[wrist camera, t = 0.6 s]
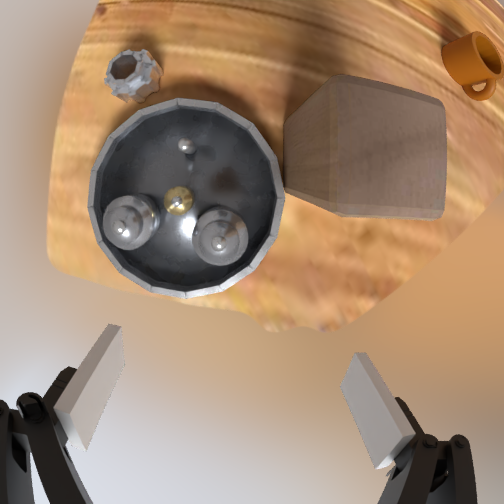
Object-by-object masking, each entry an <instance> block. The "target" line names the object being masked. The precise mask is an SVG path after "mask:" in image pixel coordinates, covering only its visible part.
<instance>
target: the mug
mask: <svg viewBox="0 0 504 504" xmlns="http://www.w3.org/2000/svg"><path fill="white" fill-rule="evenodd" d="M442 59H443V63H444V65H445V67H446V69H447V71H448V73H449V74H450V76H451V77H452V78H453V79H454V80H455V81H456V82H457V83H458V84H460V85H462V86H463V89H464V91H465V93H466V94H467V95H468V96H469V97H470V98H472V99H474V100H477V101H483V100H487V99H488V98H490V97H491V96H492V95H493V93H494V92H495V89H496V80H499V79H502V78H503V76H504V65H503V61H502V59H501V56H500V54H499V52H498V50H497V49H496V47H495V45H494V44H493V43H492V42H491V40H490V39H489V38H488V37H487V36H486V35H484V34H483V33H481V32H478V31H475V32H473V33H471V34H468V35H466V36H464V37H462V38H459V39H457V40H455V41H453V42H451V43H449V44H447V45H445V46H443V48H442ZM482 83H486V86H485V88H484V89H483V90H481V91H475V90H474V89H473V87H472V86H473V85H478V84H482Z"/></svg>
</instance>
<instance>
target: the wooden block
mask: <svg viewBox="0 0 504 504" xmlns="http://www.w3.org/2000/svg"><path fill="white" fill-rule="evenodd" d="M446 176H447V134H446V115H445V108H444V105H443V103H442V102H441V101H440V100H439V99H437V98H434V97H431V96H428V95H425V94H422V93H419V92H415V91H412V90H409V89H405V88H402V87H398V86H395V85H391V84H387V83H383V82H379V81H374V80H370V79H365V78H361V77H355V76H350V75H345V74H340V75H335V76H332V77H331V78H330V79H329V80H328V81H327V82H325V83H324V84H323V85H322V86H321V87H320V88H319V89H318V90H317V91H316V92H315V93H314V94H312V95H311V96H310V97H309V98H308V99H307V100H306V101H305V102H304V103H303V104H302V105H301V106H300V107H299V108H298V109H297V110H296V111H295V112H294V113H293V114H292V115H291V116H290V117H289V118H288V119H286V121H285V123H284V167H283V187H284V190H285V192H286V193H288V194H290V195H293V196H295V197H298V198H300V199H302V200H305V201H307V202H309V203H312V204H314V205H316V206H318V207H321V208H323V209H325V210H327V211H330V212H332V213H334V214H336V215H338V216H341V217H358V218H385V219H407V220H425V221H433V220H435V219H438V218H441V217H442V215H443V212H444V208H445V195H446Z"/></svg>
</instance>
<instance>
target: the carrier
mask: <svg viewBox="0 0 504 504" xmlns="http://www.w3.org/2000/svg"><path fill="white" fill-rule="evenodd" d="M284 201H285V194H284V189H283V184H282V179H281V174H280V169H279V165H278V160H277V157H276V155H275V154H274V152H273V151H272V149H271V148H270V146H269V145H268V144H267V142H266V141H265V139H264V138H263V137H262V135H261V134H260V132H259V131H258V129H257V128H256V127H255V125H254V124H253V123H252V122H250V121H248V120H247V119H245V118H243V117H242V116H240V115H238V114H237V113H235V112H233V111H232V110H230V109H228V108H227V107H225V106H223V105H221V104H220V103H218V102H211V101H203V100H194V99H184V98H175V99H172V100H168V101H165V102H162V103H159V104H155V105H152V106H149V107H146V108H143V109H140V110H138V111H137V112H136V113H135V114H133V115H132V116H131V117H130V118H129V119H127V120H126V121H125V122H124V123H123V124H122V125H120V126H119V127H118V128H117V129H116V130H115V131H114V132H112V133H111V134H110V135H109V137H108V138H107V140H106V142H105V144H104V146H103V148H102V150H101V152H100V153H99V155H98V157H97V159H96V161H95V163H94V165H93V167H92V170H91V176H90V185H89V195H88V212H89V215H90V219H91V223H92V226H93V230H94V233H95V237H96V240H97V243H98V245H99V246H100V248H101V249H102V250H103V252H104V253H105V254H106V256H107V257H108V259H109V260H110V261H111V262H112V264H113V265H114V266H115V268H116V269H117V270H118V272H119V273H120V274H122V275H124V276H125V277H127V278H128V279H130V280H131V281H133V282H135V283H136V284H138V285H140V286H141V287H143V288H144V289H146V290H148V291H149V292H152V293H158V294H163V295H168V296H174V297H179V298H185V299H187V298H192V297H197V296H202V295H207V294H212V293H217V292H222V291H224V290H226V289H227V288H229V287H230V286H232V285H233V284H235V283H236V282H238V281H239V280H241V279H242V278H244V277H245V276H247V275H248V274H250V273H251V272H253V271H254V270H255V269H256V268H257V266H258V265H259V263H260V262H261V260H262V259H263V257H264V256H265V254H266V253H267V252H268V250H269V249H270V247H271V246H272V244H273V243H274V241H275V240H276V238H277V235H278V230H279V226H280V221H281V216H282V211H283V206H284Z"/></svg>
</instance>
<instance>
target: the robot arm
mask: <svg viewBox="0 0 504 504" xmlns="http://www.w3.org/2000/svg"><path fill="white" fill-rule="evenodd" d="M124 366H125V361H124V352H123V340H122V327H121V326H117V325H112V324H108V326H107V327H106V328H105V330H104V331H103V333H102V334H101V336H100V337H99V338H98V340H97V341H96V343H95V344H94V346H93V347H92V349H91V350H90V351H89V353H88V355H87V356H86V358H85V359H84V361H83V362H82V363H81V365H80V366H79V368H78V369H75V368H72V367H67V368H66V369H64V370H63V371H61V372H60V373H59V375H58V376H57V378H56V380H55V381H54V382H53V383H52V385H51V386H50V388H49V389H48V391H47V392H46V394H45V395H44V397H43V398H42V397H41V396H40V395H38V394H36V393H33V392H28V393H24V394H22V395H21V396H20V397H19V398H18V399H17V403H16V406H17V408H18V410H14V409H9V407H8V405H7V403H6V402H4V401H3V400H0V504H35V502H34V495H33V487H32V478H31V464H30V452H32V455H33V459H34V462H35V465H36V468H37V471H38V474H39V477H40V479H41V482H42V485H43V487H44V490H45V493H46V495H47V497H48V500H49V502H50V504H93V502H92V501H91V499H90V497H89V495H88V493H87V491H86V489H85V487H84V485H83V483H82V481H81V479H80V477H79V475H78V473H77V471H76V469H75V467H74V464H73V462H72V460H71V457H70V455H69V452H68V450H67V448H66V446H65V444H66V442H67V440H69V442H70V444H71V445H72V446H74V447H76V448H79V449H81V450H84V451H86V450H87V448H88V446H89V444H90V441H91V439H92V436H93V434H94V432H95V429H96V427H97V425H98V422H99V420H100V418H101V415H102V413H103V411H104V409H105V406H106V404H107V402H108V400H109V398H110V395H111V393H112V391H113V389H114V387H115V385H116V382H117V380H118V378H119V376H120V374H121V372H122V370H123V368H124ZM340 388H341V390H342V392H343V395H344V397H345V399H346V402H347V404H348V406H349V408H350V411H351V413H352V415H353V418H354V420H355V422H356V425H357V427H358V429H359V432H360V434H361V436H362V438H363V441H364V443H365V446H366V448H367V451H368V453H369V455H370V458H371V460H372V462H373V465H374V467H375V469H379V468H383V467H387V466H389V465H390V463H391V462H392V461H393V460H394V461H395V463H396V465H395V466H394V467H393V468H392V469H391V470H390V471H389V472H388V473H387V475H386V476H388V475H389V474H390V473H391V474H390V477H389V479H388V482H387V484H386V487H385V489H384V491H383V493H382V496H381V497H380V500H379V502H378V504H477V492H476V482H475V474H474V467H473V460H472V454H471V449H470V444H469V441H468V439H467V438H466V437H464V436H462V435H459V434H458V435H454V436H453V437H452V438H451V439H450V440H449V441H438V439H437V438H436V437H434V436H433V435H430V434H425V433H424V432H423V430H422V428H421V427H420V425H419V424H418V422H417V421H416V419H415V417H414V416H413V414H412V412H411V411H409V408H408V406H407V405H406V403H405V402H404V401H403V400H402V399H400V398H399V397H395V398H394V396H393V395H392V393H391V392H390V390H389V388H388V387H387V385H386V384H385V382H384V381H383V379H382V377H381V376H380V374H379V373H378V371H377V369H376V368H375V366H374V365H373V363H372V361H371V360H370V358H369V357H368V355H367V354H366V353H355V354H354V356H353V359H352V361H351V363H350V366H349V368H348V370H347V372H346V375H345V377H344V379H343V381H342V383H341V386H340ZM447 471H448V473H447Z"/></svg>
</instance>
